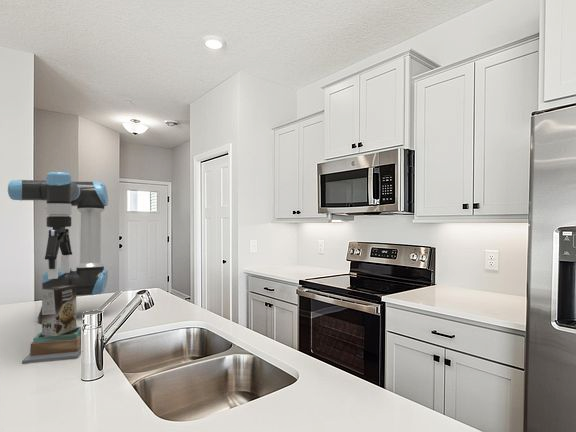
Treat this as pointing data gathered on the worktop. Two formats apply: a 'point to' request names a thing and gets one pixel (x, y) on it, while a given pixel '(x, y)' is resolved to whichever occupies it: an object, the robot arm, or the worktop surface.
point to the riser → (56, 343)
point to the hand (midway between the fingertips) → (59, 275)
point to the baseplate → (51, 357)
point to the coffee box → (58, 310)
